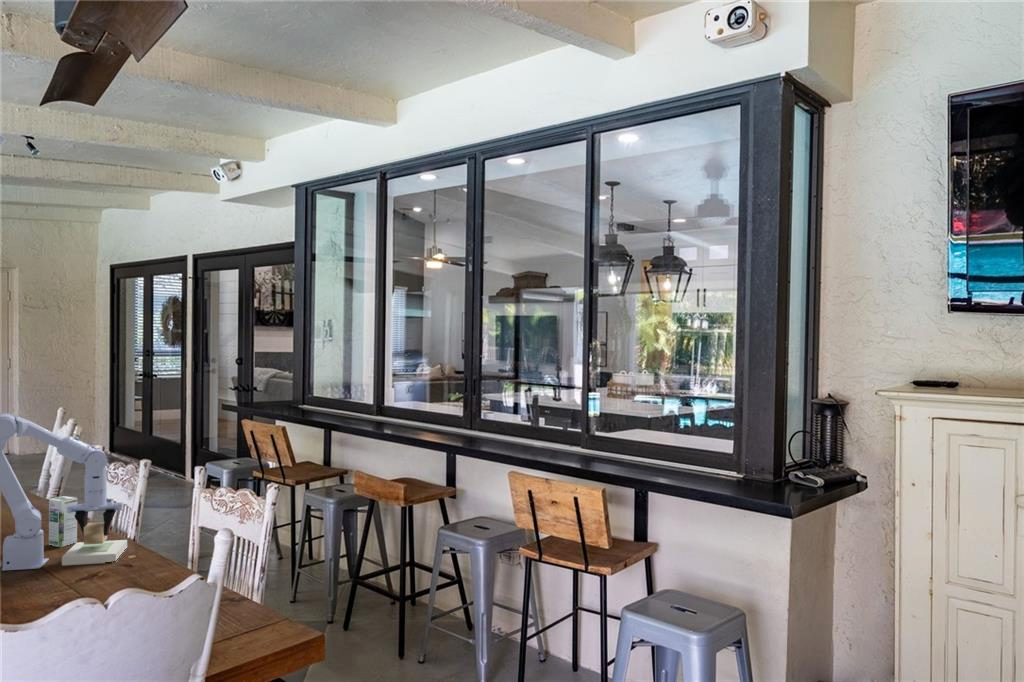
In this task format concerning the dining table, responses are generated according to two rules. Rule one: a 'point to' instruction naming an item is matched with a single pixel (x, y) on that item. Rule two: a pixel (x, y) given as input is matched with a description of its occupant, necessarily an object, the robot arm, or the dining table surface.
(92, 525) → the birch block
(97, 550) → the base plinth
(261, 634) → the dining table surface
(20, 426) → the robot arm
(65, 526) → the syrup box
